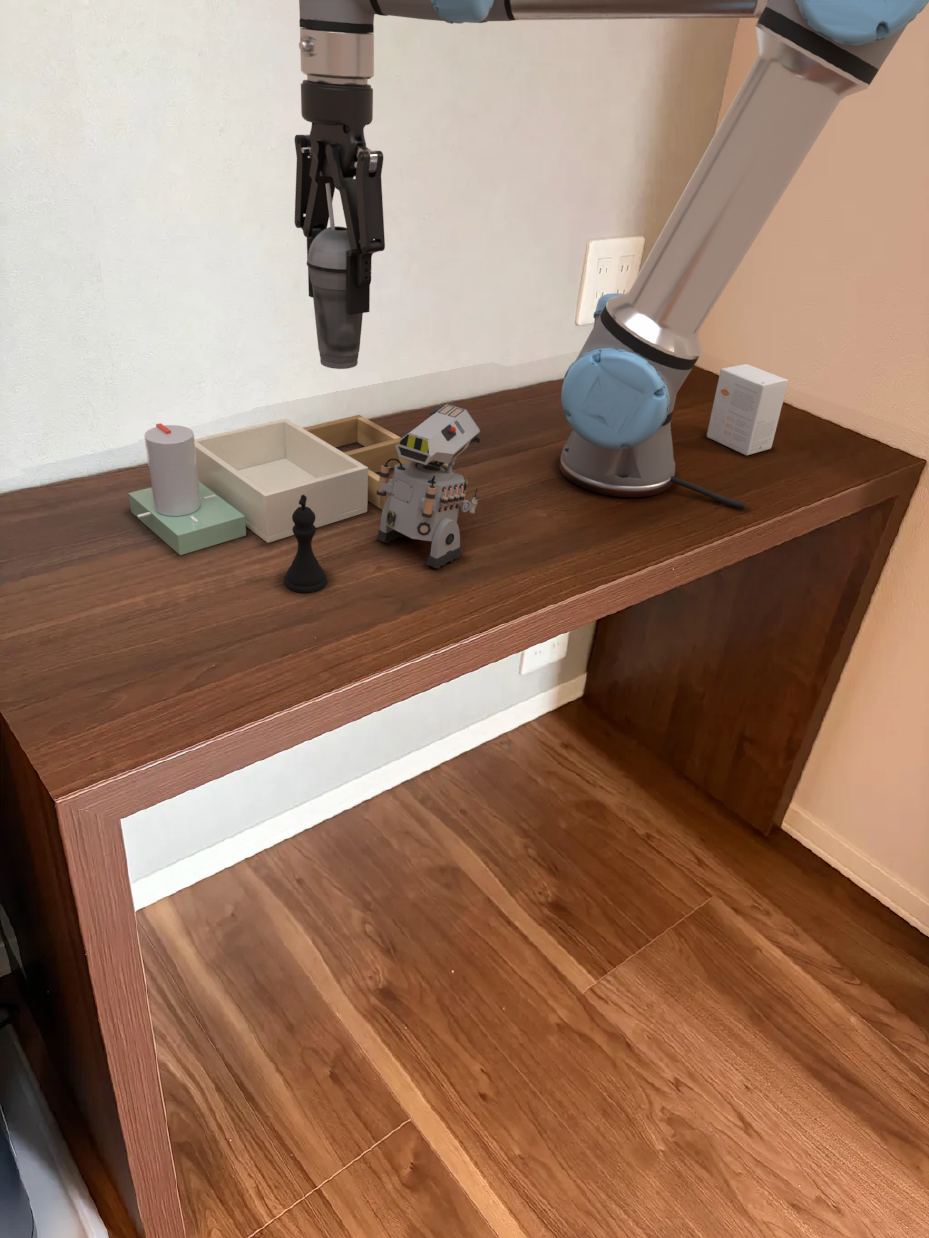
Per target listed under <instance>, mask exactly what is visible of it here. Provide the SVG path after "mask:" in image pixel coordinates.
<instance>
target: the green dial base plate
mask: <svg viewBox="0 0 929 1238" xmlns="http://www.w3.org/2000/svg"><path fill="white" fill-rule="evenodd" d="M198 482H199V481H198ZM199 491H200V501H201V506H200V508H199V509H198V510H197V511H195V512H193V513H191V514H188V515H183V516H167V515H163V514H160V513H158V512H157V511H156V510H155V509H154V505H153V497H152V489H151V487H147V488H142V489H138V490H135V491H132V492H128V501H129V506H130V513H131V514H132V515H134V516H135V517H136V518H137V519H138V520H139V521H140V522H141V523H143V524H144V526H146V527H147V528H149V529H150V530H151V531H152V532H153V533H154V534H155V535H156V536H157V537H159V538H160V539H161V540H162V541H163V542H164V543H165V544H166V545H168V546H169V547H170V548H171V549H172V550H173V551H174V552H176V553H177V555H179V556H183V555H186V554H190V553H193V552H197V551H199V550H203V549H207V548H209V547H213V546H216V545H219V544H224V543H226V542H230V541H233V540H236V539H239V538H243V537H245V536H247V527H246V524H245V516H244V515H243V514H242V513H240V512H239V511H238V510H236V509H235V508H234V507H232V506H231V505H230V504H228V503H227V502H226V501H225V500H223V499H222V498H221V497H219V496H218V495H217V494H215V493H214V492H213V491H211V490H210V489H209V488H207V487H206V486H205V485H203V484H202V483H201V482H199Z"/></svg>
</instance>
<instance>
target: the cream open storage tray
mask: <svg viewBox="0 0 929 1238" xmlns="http://www.w3.org/2000/svg"><path fill="white" fill-rule="evenodd" d="M303 428H304V427H302V426H300V425H298V424H297V423H295V422H294V421H291V420H290V419H288V418H287V417H286V418H282V419H276V420H272V421H267V422H264V423H259V424H255V425H250V426H246V427H242V428H237V429H233V430H228V431H224V432H220V433H214V434H211V435H205V436H202V437H196V438H194V442H195V452H196V462H197V472H198V481H199V482H201V483H202V484H203V485H205V486H206V487H207V488H209V489H210V490H211V491H213V492H214V493H215V494H217V495H218V496H219V497H221V498H222V499H223V500H225V501H226V502H227V503H228V504H230V505H231V506H232V507H234V508H235V509H236V510H238V511H239V512H240V513H242V514H243V515H244V516H245V524H246V528H247V529H249V530H250V531H251V532H253V534H255V535H256V536H258V537H259V538H261V540H263V541H264V542H266V543H267V544H269V543H273V542H275V541H279V540H282V539H286V538H288V537H291V536H295V535H294V533H293V530H292V529H293V526H294V525H295V524H294V522H293V520H292V515H293V513H294V511H295V510H296V509H297V508H298V507H301V505H300V504H299V500H300V499H301V495H305V496H306V497H307V500H306V506H305V507H309V508H310V509H311V510H312V511H313V512H314V514H315V517H316V518H315V521H314V524H313V525H314V526H315V527H316V529H317V528H322V527H324V526H327V525H330V524H333V523H336V522H340V521H344V520H346V519H350V518H353V517H356V516H359V515H362V514H365V513H368V505H369V504H368V502H369V501H368V467H366V466H365V465H363V464H361V463H360V462H358V461H356V460H355V459H353V458H351V457H350V456H348V455H346V454H345V453H344V451H341V450H340V449H338V448H335V447H333V446H331V445H330V444H328V443H326V442H325V441H323V440H322V439H320V438H318V437H317V436H315V435H313V434H312V433H310V432H308V431H307V430H305V429H303Z"/></svg>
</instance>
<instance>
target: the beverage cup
mask: <svg viewBox="0 0 929 1238" xmlns="http://www.w3.org/2000/svg"><path fill="white" fill-rule="evenodd" d="M326 192H327V201H328V210H329V227H327V228H326V229H324V230H322V231H321V232H320V233H319V234H318V235H317V236H316V237H315V238H314V240H313V241H312V243H311V246H310V248H309V253H308V260H307V259H306V266H307V272H308V271H309V276H310V281H311V283H312V290H313V298H312V300H313V310H314V319H315V328H316V338H317V347H318V353H319V358H320V361H319V362H320V365H321V366H323V367H325V368H329V369H335V370H345V369H346V370H347V369H353V368H356V367H357V365H358V364H359V363H358V362H359V361H358V359H359V354H360V348H361V337H362V327H363V316H364V313H359V314H353V315H349V314H347V313H346V251H348V250H351V247H350V242H349V237H348V232H347V227H345V226H335V225H336V224H335V216H334V207H333V201H332V198H331V189H330V183H326ZM359 243H360V240H359Z"/></svg>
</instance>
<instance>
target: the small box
mask: <svg viewBox="0 0 929 1238" xmlns="http://www.w3.org/2000/svg"><path fill="white" fill-rule="evenodd" d="M788 384H789V379H787V378H784V377H781V376H779V375H776V374H774V373H772V372H769V371H766V370H763V369H761V368H758V367H755V366H753V365H750V364H748V363H743V364H739V365H732V366H727V367H723V368H721V369H720V370H719V375H718V380H717V384H716V390H715V395H714V399H713V404H712V407H711V413H710V418H709V421H708V427H707V431H706V438H708V439H709V440H713V441H715V442H716V443H719V444H721V445H723V446H725V447H726V448H730V449H731V450H734V451H736V452H738V453H740V454H742V455H744V456H749V455H753V454H757V453H760V452H765V451H768V450H771V449H772V447H773V443H774V440H775V435H776V432H777V428H778V425H779V421H780V420H779V419H780V415H781V411H782V407H783V404H784V399H785V395H786V391H787V388H788Z"/></svg>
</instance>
